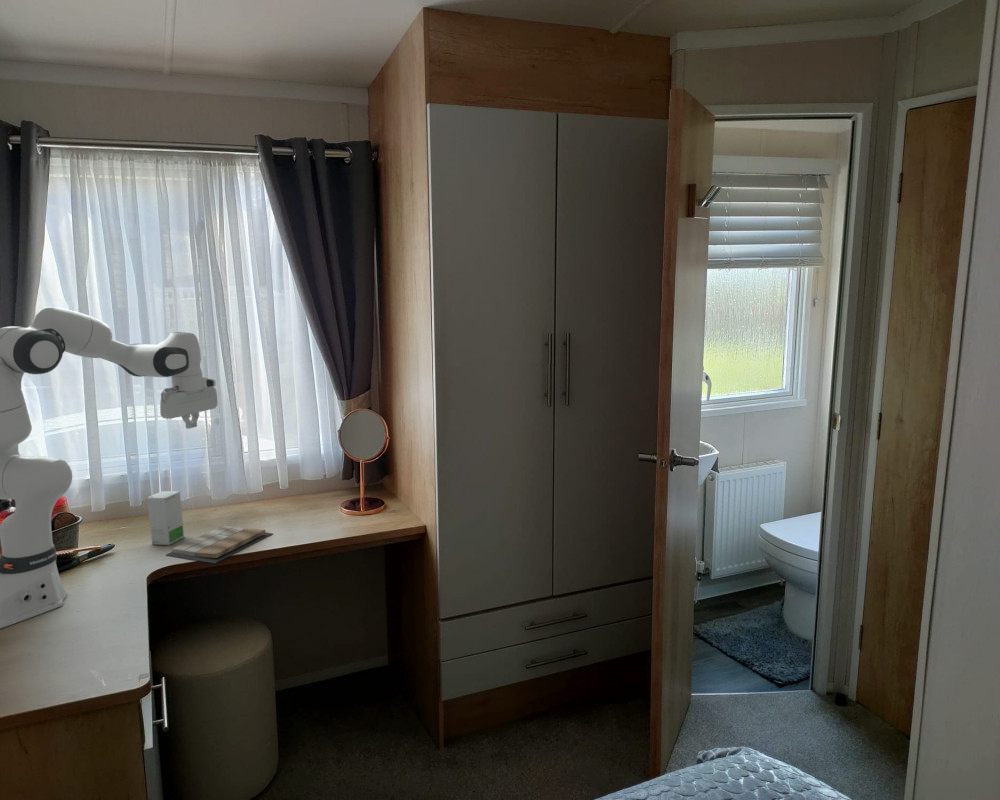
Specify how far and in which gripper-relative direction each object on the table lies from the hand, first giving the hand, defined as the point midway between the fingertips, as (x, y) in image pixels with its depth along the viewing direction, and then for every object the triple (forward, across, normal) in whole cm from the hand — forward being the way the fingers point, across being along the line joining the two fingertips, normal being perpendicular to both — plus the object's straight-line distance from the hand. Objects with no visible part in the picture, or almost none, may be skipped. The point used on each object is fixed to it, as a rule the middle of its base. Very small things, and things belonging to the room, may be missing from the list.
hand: (191, 427), depth 225 cm
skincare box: (+37, -4, +10) cm, 39 cm away
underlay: (+37, -1, -9) cm, 38 cm away
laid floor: (+37, -1, -4) cm, 37 cm away
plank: (+36, -1, -13) cm, 39 cm away
